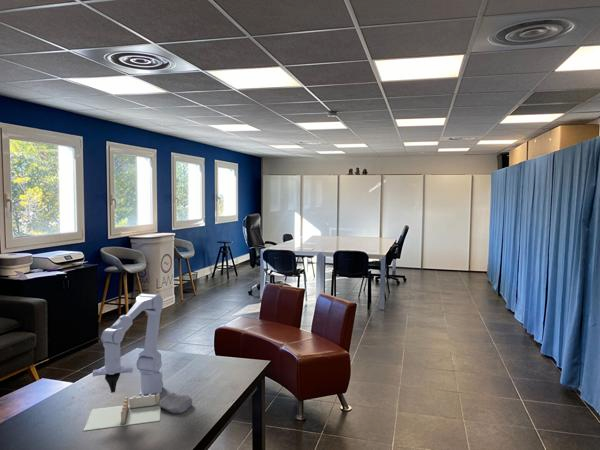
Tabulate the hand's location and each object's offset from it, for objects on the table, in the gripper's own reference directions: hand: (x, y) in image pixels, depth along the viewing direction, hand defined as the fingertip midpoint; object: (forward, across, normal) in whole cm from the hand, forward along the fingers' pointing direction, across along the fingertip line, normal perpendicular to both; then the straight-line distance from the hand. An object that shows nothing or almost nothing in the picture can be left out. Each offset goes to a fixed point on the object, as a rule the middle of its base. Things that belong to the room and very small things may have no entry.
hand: (113, 391), depth 170 cm
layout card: (+9, +4, -2) cm, 11 cm away
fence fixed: (+9, +11, +3) cm, 15 cm away
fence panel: (+9, +5, -4) cm, 11 cm away
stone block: (+9, +24, -1) cm, 25 cm away
